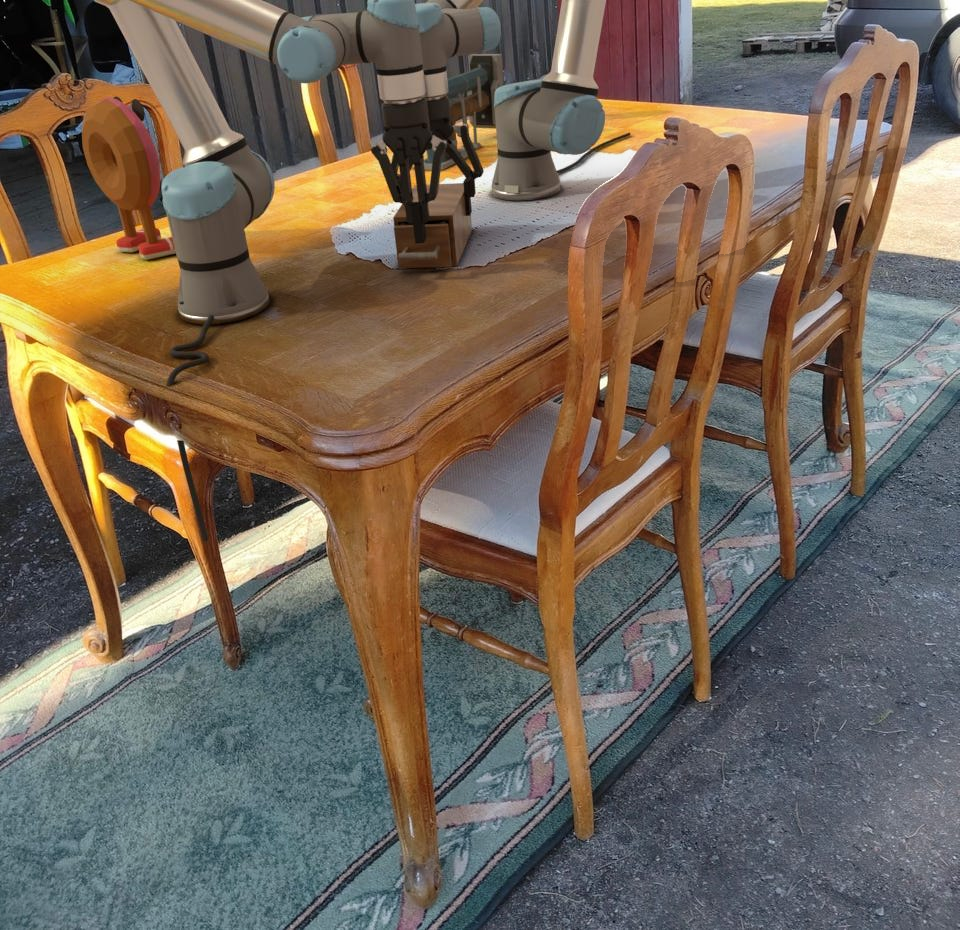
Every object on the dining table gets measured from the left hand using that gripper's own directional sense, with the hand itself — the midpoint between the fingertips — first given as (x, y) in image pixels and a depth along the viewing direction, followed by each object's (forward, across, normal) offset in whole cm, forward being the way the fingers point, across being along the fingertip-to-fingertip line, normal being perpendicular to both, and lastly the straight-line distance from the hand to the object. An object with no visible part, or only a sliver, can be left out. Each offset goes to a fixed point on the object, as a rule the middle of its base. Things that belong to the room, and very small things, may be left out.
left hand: (420, 240), depth 169 cm
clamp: (+7, +7, -93) cm, 94 cm away
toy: (+6, +61, -20) cm, 64 cm away
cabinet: (+7, 0, -16) cm, 18 cm away
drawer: (+6, 0, -10) cm, 12 cm away
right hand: (+2, 0, -22) cm, 22 cm away
